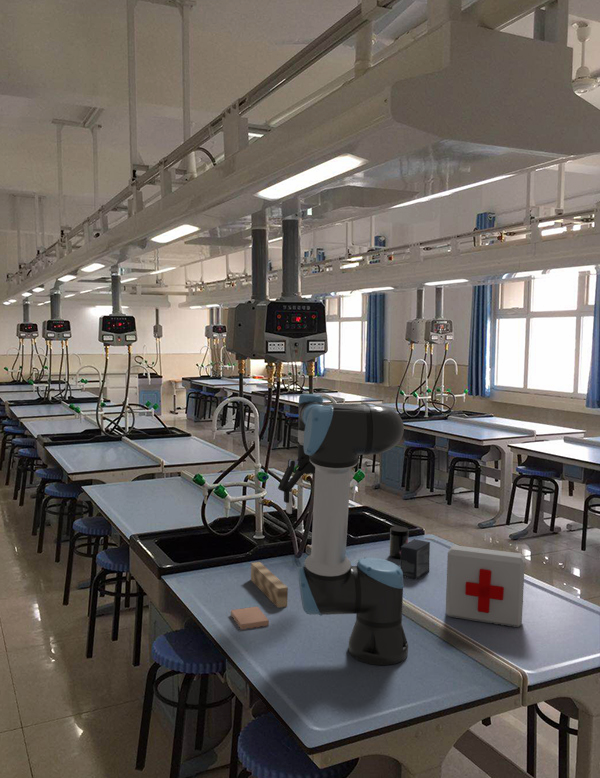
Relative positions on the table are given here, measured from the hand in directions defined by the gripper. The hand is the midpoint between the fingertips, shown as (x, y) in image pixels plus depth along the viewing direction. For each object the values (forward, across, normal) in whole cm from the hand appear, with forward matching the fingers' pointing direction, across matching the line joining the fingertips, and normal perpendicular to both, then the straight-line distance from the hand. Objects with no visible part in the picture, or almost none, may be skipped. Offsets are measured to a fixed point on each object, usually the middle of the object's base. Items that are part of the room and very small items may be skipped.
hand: (308, 510), depth 206 cm
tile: (+26, +24, +13) cm, 38 cm away
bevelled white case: (+26, -37, +39) cm, 60 cm away
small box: (+26, -41, 0) cm, 49 cm away
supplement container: (+26, -46, -17) cm, 55 cm away
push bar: (+26, +12, -4) cm, 29 cm away
